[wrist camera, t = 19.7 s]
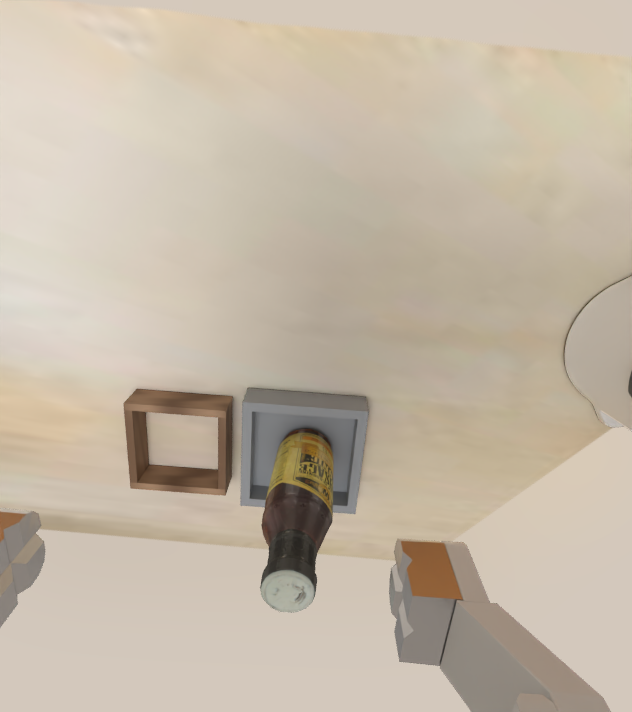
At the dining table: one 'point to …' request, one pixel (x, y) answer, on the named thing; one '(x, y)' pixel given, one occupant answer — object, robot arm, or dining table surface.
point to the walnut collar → (168, 475)
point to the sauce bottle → (297, 519)
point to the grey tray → (294, 412)
